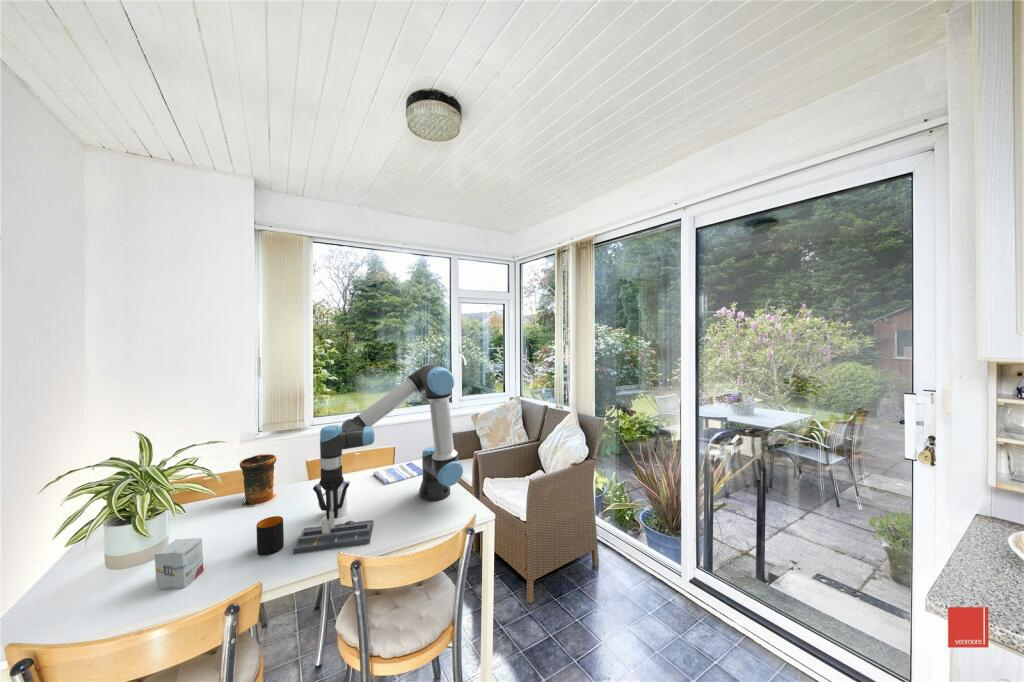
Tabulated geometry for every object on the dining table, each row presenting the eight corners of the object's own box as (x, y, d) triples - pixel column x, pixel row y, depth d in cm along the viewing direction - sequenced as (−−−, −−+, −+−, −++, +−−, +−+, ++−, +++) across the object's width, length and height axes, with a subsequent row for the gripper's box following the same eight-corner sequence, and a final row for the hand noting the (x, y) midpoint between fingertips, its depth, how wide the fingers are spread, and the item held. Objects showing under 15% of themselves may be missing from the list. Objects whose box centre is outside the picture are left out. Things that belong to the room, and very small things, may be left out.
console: (373, 524, 153) (373, 517, 153) (369, 543, 139) (369, 535, 139) (304, 533, 146) (304, 525, 146) (293, 554, 133) (292, 545, 133)
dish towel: (372, 476, 203) (372, 471, 203) (412, 465, 218) (412, 461, 218) (384, 486, 190) (384, 481, 190) (425, 474, 205) (425, 469, 205)
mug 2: (319, 522, 154) (318, 494, 154) (317, 513, 162) (317, 487, 161) (349, 515, 160) (349, 488, 160) (346, 506, 168) (346, 481, 167)
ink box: (177, 572, 123) (176, 537, 123) (204, 570, 124) (203, 536, 124) (154, 590, 115) (153, 553, 114) (184, 588, 116) (182, 552, 115)
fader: (331, 530, 144) (331, 515, 144) (329, 536, 140) (329, 521, 140) (323, 531, 144) (323, 516, 143) (320, 537, 140) (320, 522, 139)
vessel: (279, 501, 172) (276, 459, 171) (241, 511, 164) (238, 467, 163) (278, 490, 184) (275, 451, 183) (242, 498, 176) (240, 457, 175)
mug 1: (263, 563, 128) (262, 534, 127) (254, 549, 136) (253, 522, 135) (290, 552, 134) (289, 525, 133) (280, 539, 142) (279, 513, 141)
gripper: (351, 461, 147) (352, 519, 148) (315, 464, 143) (316, 523, 144) (347, 468, 139) (348, 529, 140) (310, 471, 136) (311, 533, 137)
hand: (332, 526), depth 142 cm, fingers closed
